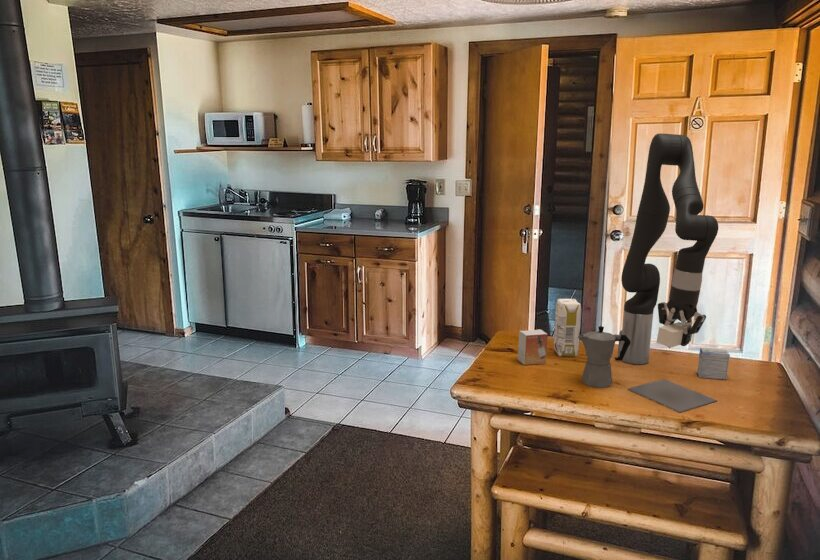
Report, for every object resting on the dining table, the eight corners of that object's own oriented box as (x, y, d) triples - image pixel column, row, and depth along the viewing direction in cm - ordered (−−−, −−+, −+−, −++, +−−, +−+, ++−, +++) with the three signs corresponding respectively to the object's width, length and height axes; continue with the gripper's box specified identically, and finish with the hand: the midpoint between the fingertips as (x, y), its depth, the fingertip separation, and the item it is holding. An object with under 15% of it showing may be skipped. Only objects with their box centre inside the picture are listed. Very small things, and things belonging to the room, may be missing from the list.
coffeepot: (576, 387, 182) (581, 330, 178) (572, 375, 191) (576, 320, 187) (629, 390, 180) (635, 332, 176) (623, 378, 189) (628, 323, 185)
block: (670, 347, 168) (690, 341, 173) (673, 332, 166) (693, 326, 172) (656, 342, 171) (676, 336, 177) (659, 327, 170) (679, 321, 176)
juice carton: (557, 357, 207) (561, 304, 203) (551, 349, 215) (555, 297, 211) (579, 357, 207) (583, 304, 203) (572, 349, 215) (576, 297, 211)
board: (627, 389, 180) (627, 388, 180) (664, 380, 187) (664, 378, 187) (679, 412, 165) (680, 411, 164) (717, 401, 172) (717, 400, 172)
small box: (524, 365, 199) (525, 335, 197) (517, 359, 204) (518, 330, 202) (546, 363, 201) (548, 333, 199) (539, 358, 206) (540, 328, 204)
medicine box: (723, 375, 192) (727, 349, 190) (726, 380, 188) (730, 354, 186) (696, 372, 194) (699, 347, 192) (699, 377, 190) (702, 351, 188)
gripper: (717, 290, 165) (706, 348, 169) (670, 277, 176) (660, 332, 181) (702, 294, 161) (691, 353, 165) (655, 280, 172) (645, 336, 176)
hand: (675, 342), depth 173 cm, fingers closed on block, 4 cm apart
